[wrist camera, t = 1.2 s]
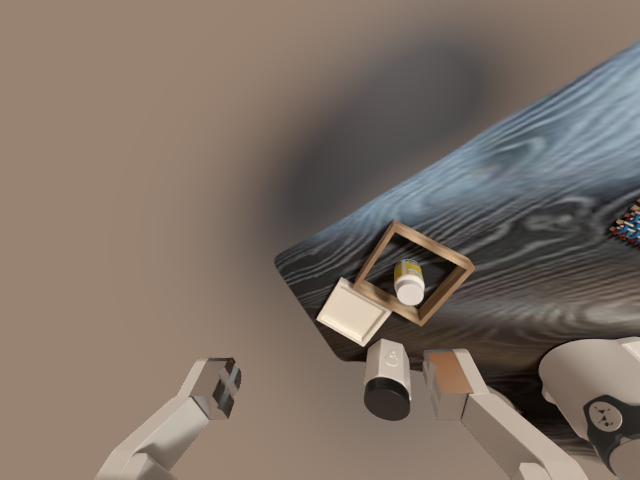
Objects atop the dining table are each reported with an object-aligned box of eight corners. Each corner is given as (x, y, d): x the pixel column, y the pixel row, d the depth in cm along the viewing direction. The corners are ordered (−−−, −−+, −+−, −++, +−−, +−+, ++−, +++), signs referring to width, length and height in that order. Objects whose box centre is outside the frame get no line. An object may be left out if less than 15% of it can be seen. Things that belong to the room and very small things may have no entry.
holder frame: (469, 259, 41) (475, 268, 38) (419, 314, 48) (421, 326, 45) (393, 219, 43) (393, 225, 39) (355, 278, 49) (352, 288, 46)
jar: (413, 345, 51) (418, 399, 41) (404, 371, 55) (406, 427, 44) (371, 334, 53) (365, 382, 43) (365, 360, 57) (358, 410, 46)
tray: (392, 305, 49) (392, 310, 47) (364, 340, 55) (363, 346, 53) (341, 276, 50) (339, 281, 48) (318, 314, 55) (316, 319, 54)
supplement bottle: (398, 282, 47) (398, 309, 39) (390, 261, 46) (390, 285, 38) (424, 277, 45) (429, 305, 38) (417, 255, 44) (421, 279, 36)
